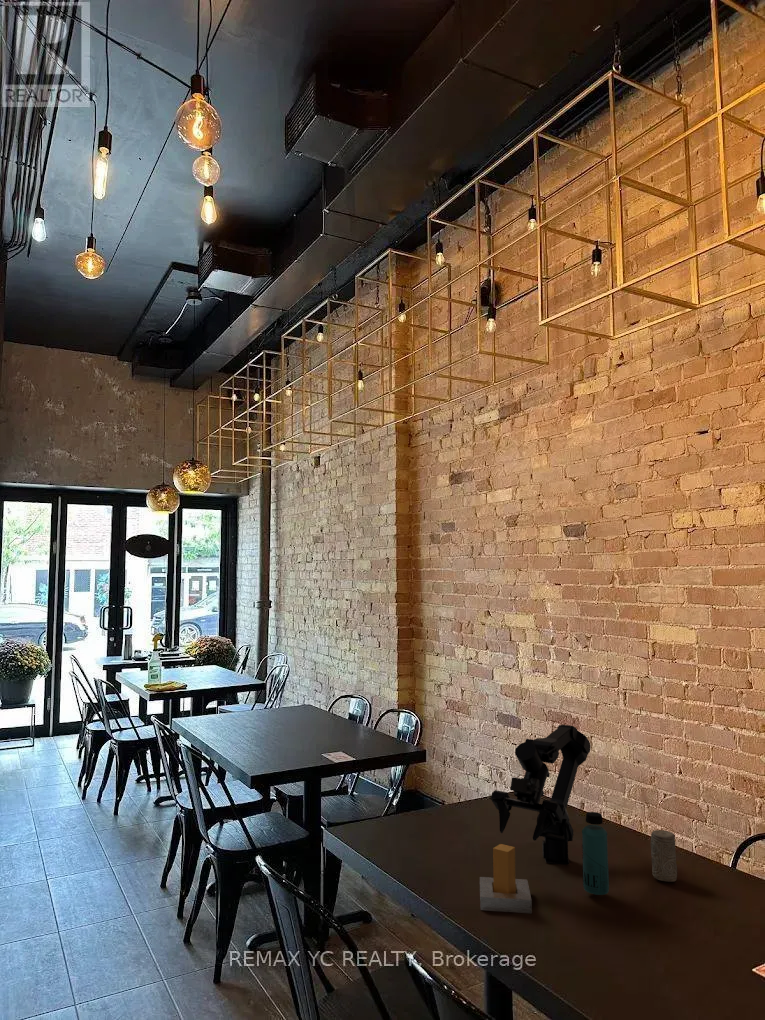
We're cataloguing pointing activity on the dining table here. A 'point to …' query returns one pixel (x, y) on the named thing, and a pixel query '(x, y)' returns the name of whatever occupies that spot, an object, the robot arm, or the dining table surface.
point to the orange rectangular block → (504, 869)
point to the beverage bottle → (595, 856)
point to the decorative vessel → (663, 855)
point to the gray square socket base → (505, 897)
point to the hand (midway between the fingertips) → (517, 835)
